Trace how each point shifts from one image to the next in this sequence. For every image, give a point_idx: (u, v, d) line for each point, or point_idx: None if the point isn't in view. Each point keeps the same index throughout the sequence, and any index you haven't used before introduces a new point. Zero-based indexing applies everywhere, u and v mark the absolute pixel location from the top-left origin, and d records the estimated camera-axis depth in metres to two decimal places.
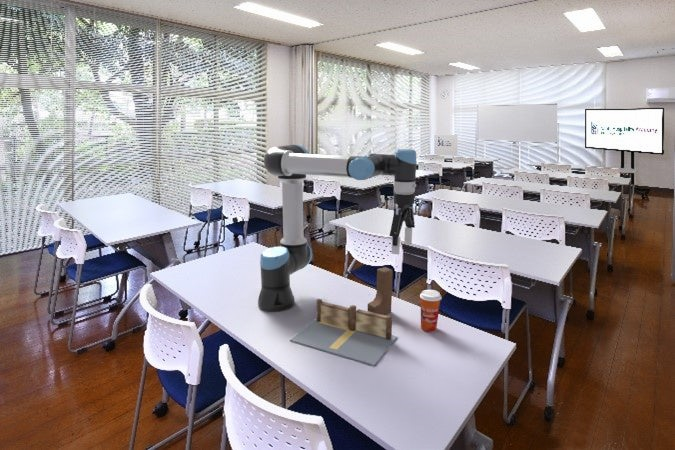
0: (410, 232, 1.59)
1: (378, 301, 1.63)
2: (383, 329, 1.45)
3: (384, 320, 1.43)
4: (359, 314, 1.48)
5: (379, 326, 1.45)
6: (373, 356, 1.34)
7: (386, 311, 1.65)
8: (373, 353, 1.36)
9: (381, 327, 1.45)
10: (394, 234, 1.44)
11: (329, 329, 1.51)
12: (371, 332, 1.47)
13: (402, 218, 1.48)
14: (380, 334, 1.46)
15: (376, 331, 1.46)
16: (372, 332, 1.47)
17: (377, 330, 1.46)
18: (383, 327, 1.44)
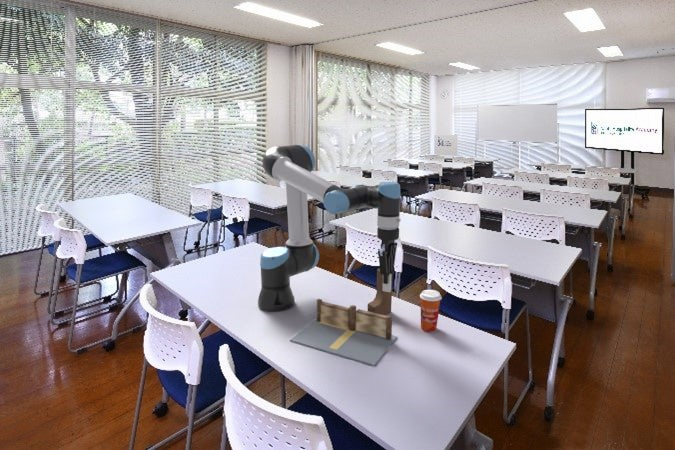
0: None
1: (378, 301, 1.63)
2: (383, 329, 1.45)
3: (384, 320, 1.43)
4: (359, 314, 1.48)
5: (379, 326, 1.45)
6: (373, 356, 1.34)
7: (386, 311, 1.65)
8: (373, 353, 1.36)
9: (381, 327, 1.45)
10: (384, 274, 1.43)
11: (329, 329, 1.51)
12: (371, 332, 1.47)
13: (388, 256, 1.43)
14: (380, 334, 1.46)
15: (376, 331, 1.46)
16: (372, 332, 1.47)
17: (377, 330, 1.46)
18: (383, 327, 1.44)
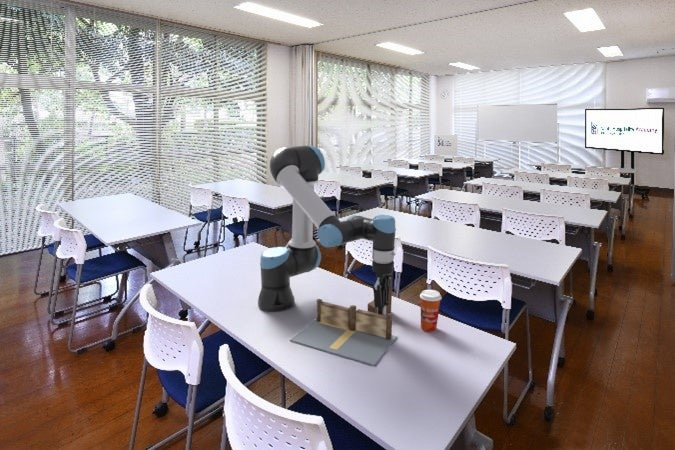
0: None
1: None
2: (383, 329, 1.45)
3: (384, 320, 1.43)
4: (359, 314, 1.48)
5: (379, 326, 1.45)
6: (373, 356, 1.34)
7: (386, 311, 1.65)
8: (373, 353, 1.36)
9: (381, 327, 1.45)
10: (379, 307, 1.43)
11: (329, 329, 1.51)
12: (371, 332, 1.47)
13: (383, 289, 1.43)
14: (380, 334, 1.46)
15: (376, 331, 1.46)
16: (372, 332, 1.47)
17: (377, 330, 1.46)
18: (383, 327, 1.44)
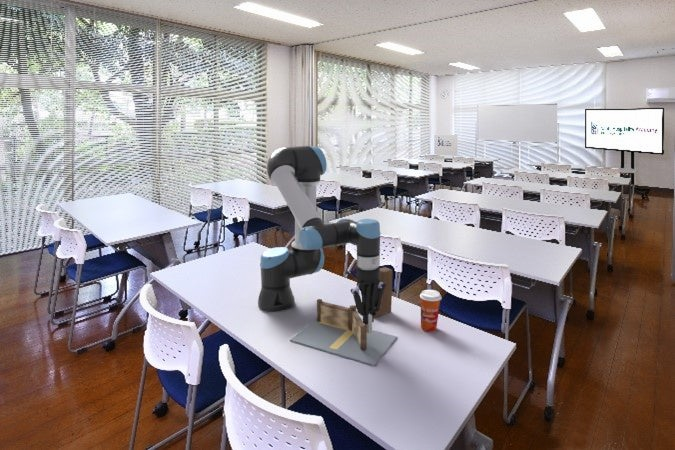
0: None
1: None
2: (360, 337, 1.39)
3: (360, 328, 1.38)
4: (353, 315, 1.47)
5: (359, 333, 1.40)
6: (373, 356, 1.34)
7: (386, 311, 1.65)
8: (373, 353, 1.36)
9: (359, 335, 1.40)
10: (360, 314, 1.38)
11: (329, 329, 1.51)
12: (356, 337, 1.44)
13: (365, 296, 1.37)
14: (359, 342, 1.40)
15: (358, 337, 1.42)
16: (356, 337, 1.43)
17: (358, 337, 1.41)
18: (360, 336, 1.39)
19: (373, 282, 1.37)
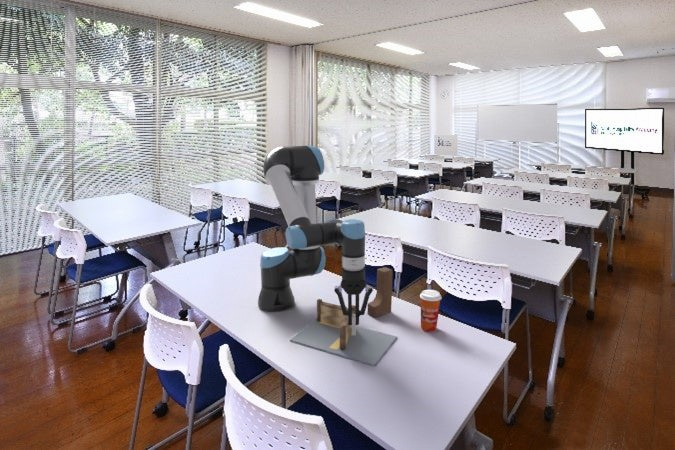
0: None
1: (378, 301, 1.63)
2: None
3: None
4: None
5: None
6: (373, 356, 1.34)
7: (386, 311, 1.65)
8: (373, 353, 1.36)
9: None
10: None
11: (329, 329, 1.51)
12: None
13: (348, 296, 1.36)
14: None
15: None
16: None
17: None
18: None
19: (357, 284, 1.35)
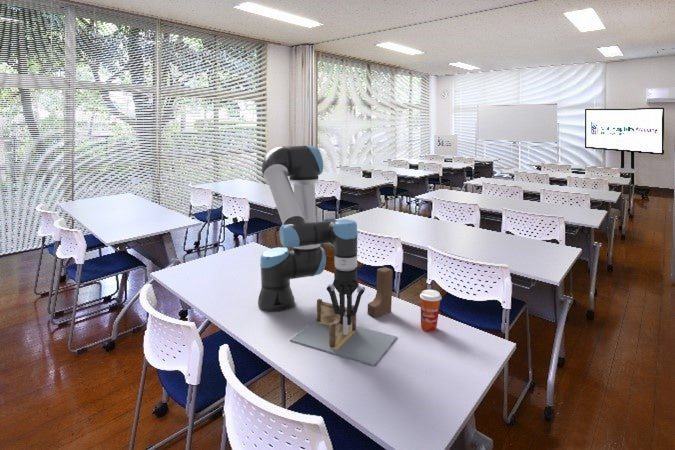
0: None
1: (378, 301, 1.63)
2: None
3: None
4: None
5: None
6: (373, 356, 1.34)
7: (386, 311, 1.65)
8: (373, 353, 1.36)
9: None
10: None
11: None
12: None
13: None
14: None
15: None
16: None
17: None
18: None
19: (348, 284, 1.35)
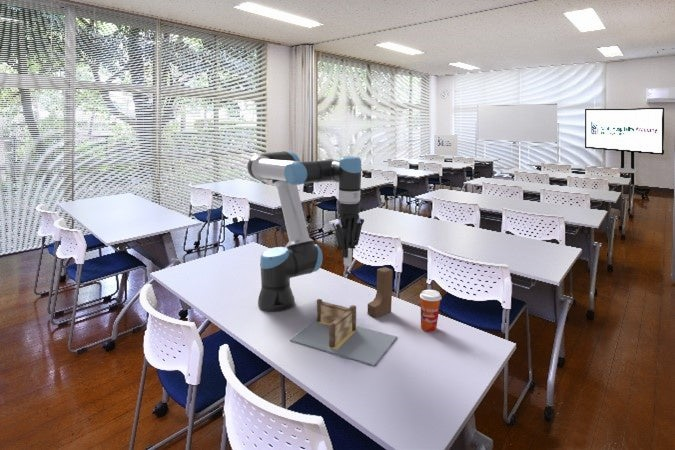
0: None
1: (378, 301, 1.63)
2: None
3: None
4: None
5: None
6: (373, 356, 1.34)
7: (386, 311, 1.65)
8: (373, 353, 1.36)
9: None
10: (341, 247, 1.46)
11: None
12: None
13: (346, 230, 1.45)
14: None
15: None
16: None
17: None
18: None
19: (353, 217, 1.45)
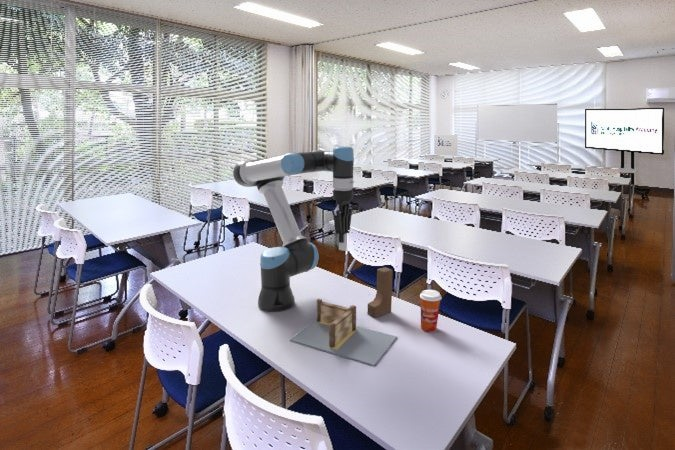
0: None
1: (378, 301, 1.63)
2: None
3: None
4: None
5: None
6: (373, 356, 1.34)
7: (386, 311, 1.65)
8: (373, 353, 1.36)
9: None
10: (339, 232, 1.54)
11: None
12: None
13: (343, 216, 1.54)
14: None
15: None
16: None
17: None
18: None
19: (347, 203, 1.55)
